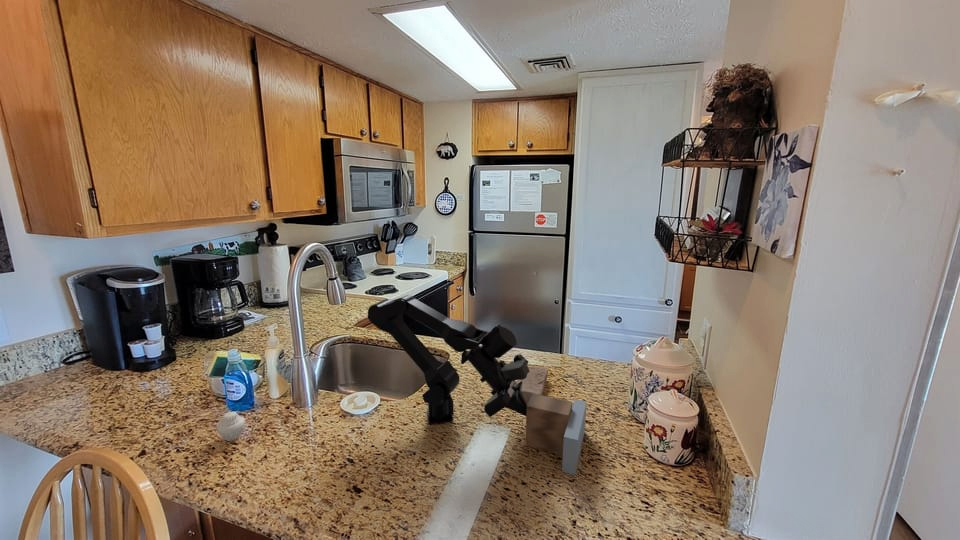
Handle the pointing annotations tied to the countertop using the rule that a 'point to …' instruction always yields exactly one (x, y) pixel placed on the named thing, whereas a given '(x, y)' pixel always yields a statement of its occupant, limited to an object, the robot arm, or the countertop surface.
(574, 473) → the slate board
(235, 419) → the grey rounded lump
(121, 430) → the countertop surface
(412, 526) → the countertop surface
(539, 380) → the brick
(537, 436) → the walnut box
